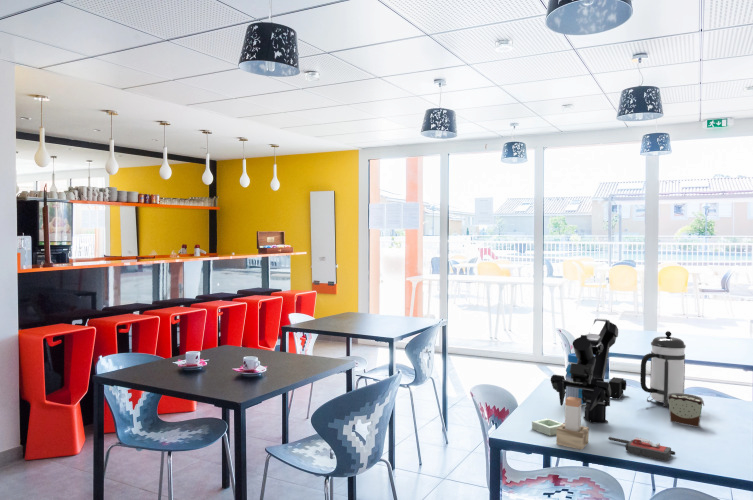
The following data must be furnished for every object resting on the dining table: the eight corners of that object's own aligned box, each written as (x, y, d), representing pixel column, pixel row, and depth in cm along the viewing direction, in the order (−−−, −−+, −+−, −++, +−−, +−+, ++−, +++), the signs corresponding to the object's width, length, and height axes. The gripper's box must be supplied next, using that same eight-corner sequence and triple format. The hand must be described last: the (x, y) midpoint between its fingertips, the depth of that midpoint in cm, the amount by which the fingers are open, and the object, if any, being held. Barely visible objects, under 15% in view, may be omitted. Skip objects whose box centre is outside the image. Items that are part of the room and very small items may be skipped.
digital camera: (622, 399, 241) (622, 383, 241) (608, 397, 244) (608, 381, 244) (626, 394, 249) (626, 378, 249) (612, 392, 252) (613, 376, 252)
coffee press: (647, 396, 246) (649, 327, 246) (689, 403, 237) (691, 331, 237) (639, 405, 232) (641, 331, 232) (683, 412, 223) (685, 335, 223)
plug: (568, 429, 187) (568, 396, 187) (580, 432, 185) (581, 398, 185) (564, 433, 184) (565, 398, 183) (577, 435, 181) (578, 401, 181)
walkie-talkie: (676, 455, 176) (609, 441, 188) (677, 441, 176) (609, 428, 188) (671, 463, 169) (601, 448, 181) (672, 449, 169) (602, 434, 181)
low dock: (547, 425, 202) (548, 418, 202) (566, 432, 196) (566, 424, 196) (531, 428, 198) (532, 421, 198) (549, 435, 191) (549, 427, 191)
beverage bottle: (565, 404, 230) (566, 355, 230) (564, 399, 239) (565, 352, 238) (587, 406, 228) (588, 357, 228) (586, 401, 236) (587, 353, 236)
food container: (707, 424, 208) (708, 397, 208) (703, 428, 203) (703, 400, 203) (671, 417, 216) (671, 390, 216) (666, 420, 211) (666, 393, 211)
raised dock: (563, 437, 190) (563, 422, 190) (588, 442, 185) (588, 427, 185) (556, 444, 183) (556, 428, 183) (582, 449, 179) (582, 433, 178)
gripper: (552, 350, 196) (541, 388, 187) (610, 357, 185) (601, 398, 176) (559, 370, 202) (548, 407, 193) (614, 377, 192) (606, 417, 183)
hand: (575, 407), depth 186 cm, fingers open, 9 cm apart
